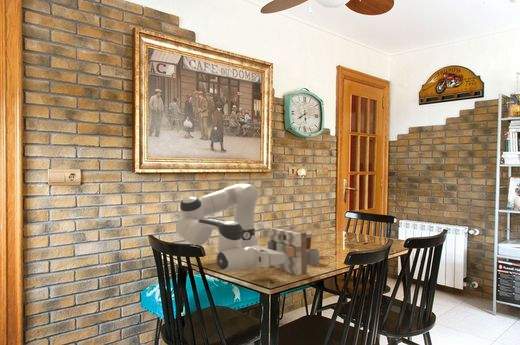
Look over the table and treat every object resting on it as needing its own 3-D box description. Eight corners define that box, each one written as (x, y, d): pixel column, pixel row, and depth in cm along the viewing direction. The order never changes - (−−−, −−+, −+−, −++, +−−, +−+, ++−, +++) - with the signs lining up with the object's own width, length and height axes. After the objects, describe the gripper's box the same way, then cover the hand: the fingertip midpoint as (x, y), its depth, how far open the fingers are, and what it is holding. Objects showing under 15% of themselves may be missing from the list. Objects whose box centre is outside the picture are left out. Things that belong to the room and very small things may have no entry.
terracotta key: (285, 255, 176) (285, 246, 176) (291, 254, 178) (291, 245, 178) (290, 256, 173) (290, 247, 173) (296, 255, 174) (296, 246, 174)
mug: (315, 261, 198) (315, 248, 198) (321, 264, 192) (321, 250, 192) (297, 263, 195) (297, 249, 195) (303, 266, 189) (302, 252, 189)
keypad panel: (269, 265, 191) (269, 228, 191) (279, 263, 194) (279, 227, 194) (296, 275, 172) (295, 233, 172) (306, 273, 175) (306, 232, 175)
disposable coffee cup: (305, 257, 208) (305, 234, 208) (291, 255, 214) (291, 233, 214) (316, 254, 215) (315, 232, 215) (301, 252, 221) (301, 231, 221)
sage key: (276, 252, 183) (276, 243, 183) (281, 251, 184) (281, 243, 184) (281, 253, 179) (281, 245, 179) (286, 253, 181) (286, 244, 181)
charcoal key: (268, 249, 189) (267, 241, 189) (273, 249, 191) (273, 240, 191) (272, 251, 186) (272, 242, 186) (277, 250, 187) (277, 241, 187)
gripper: (243, 259, 174) (270, 256, 181) (267, 269, 157) (296, 264, 164) (243, 245, 174) (269, 242, 181) (267, 253, 157) (296, 249, 164)
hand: (282, 252), depth 172 cm, fingers closed
